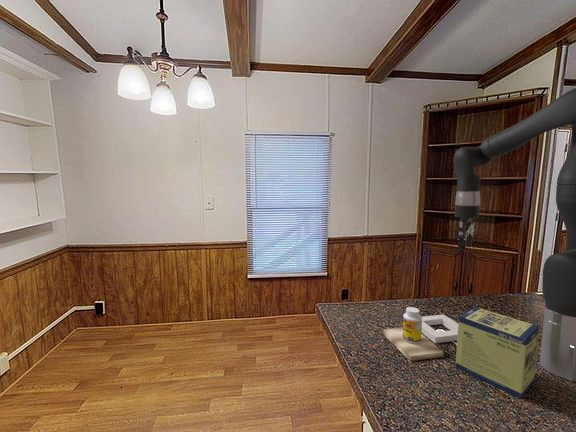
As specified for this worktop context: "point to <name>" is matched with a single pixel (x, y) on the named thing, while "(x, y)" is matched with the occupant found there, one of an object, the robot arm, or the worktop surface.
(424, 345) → the birch board
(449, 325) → the collar stand
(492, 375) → the protein box
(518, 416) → the worktop surface
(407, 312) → the supplement bottle
